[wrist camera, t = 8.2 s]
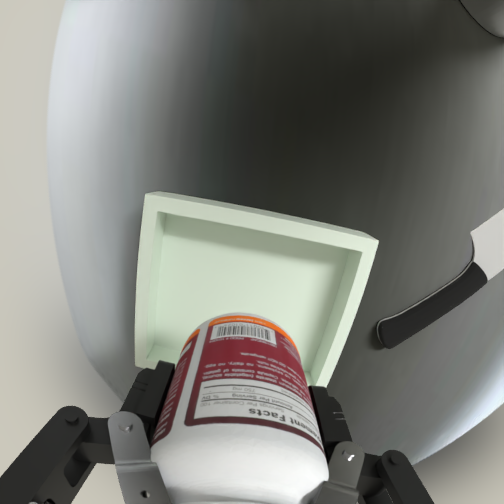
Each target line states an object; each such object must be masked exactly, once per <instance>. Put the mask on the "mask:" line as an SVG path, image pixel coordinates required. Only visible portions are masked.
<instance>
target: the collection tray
mask: <svg viewBox="0 0 504 504" xmlns="http://www.w3.org/2000/svg"><path fill="white" fill-rule="evenodd" d="M378 242H379V241H378V240H376V239H375V238H373V237H371V236H369V235H368V234H366V233H364V232H361V231H357V230H352V229H348V228H344V227H340V226H335V225H331V224H327V223H322V222H318V221H313V220H309V219H304V218H300V217H295V216H290V215H286V214H281V213H276V212H271V211H266V210H261V209H256V208H251V207H246V206H241V205H236V204H231V203H225V202H220V201H215V200H209V199H203V198H198V197H192V196H186V195H180V194H174V193H168V192H162V191H157V192H152V193H147V194H145V200H144V208H143V216H142V224H141V233H140V243H139V254H138V267H137V282H136V304H135V366H137V367H141V368H144V369H145V368H146V367H147V368H150V369H154V370H155V368H156V366H157V363H158V361H159V360H162V361H166V362H170V363H175V369H176V366H177V363H178V360H179V357H180V354H181V351H182V349H183V347H184V344H185V342H186V341H187V339H188V337H189V336H190V334H191V333H192V332H193V331H194V330H195V329H196V328H197V327H198V326H199V325H201V324H202V323H203V322H205V321H207V320H209V319H211V318H213V317H216V316H219V315H223V314H227V313H251V314H255V315H259V316H262V317H265V318H267V319H270V320H272V321H273V322H275V323H277V324H278V325H280V326H281V327H282V328H283V329H284V330H285V331H286V332H287V333H288V334H289V335H290V336H291V338H292V339H293V341H294V343H295V345H296V347H297V350H298V352H299V355H300V359H301V363H302V366H303V370H304V374H305V378H306V382H307V386H309V385H312V386H324V387H325V388H326V387H327V384H328V382H329V380H330V378H331V375H332V373H333V371H334V368H335V366H336V364H337V361H338V359H339V357H340V354H341V352H342V349H343V347H344V344H345V342H346V339H347V336H348V334H349V331H350V329H351V326H352V323H353V321H354V318H355V315H356V312H357V309H358V307H359V304H360V301H361V298H362V295H363V292H364V289H365V286H366V283H367V280H368V276H369V273H370V270H371V267H372V263H373V260H374V257H375V253H376V250H377V246H378Z"/></svg>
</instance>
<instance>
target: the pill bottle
mask: <svg viewBox="0 0 504 504" xmlns="http://www.w3.org/2000/svg"><path fill="white" fill-rule="evenodd" d="M150 450H151V461H152V462H156V463H157V465H158V468H159V470H160V473H161V476H162V479H163V481H164V484H165V487H166V489H167V492H168V494H169V497H170V499H171V502H172V504H309V503H310V501H311V500H312V499H313V497H314V496H315V495H316V493H317V492H318V490H319V489H320V487H321V485H322V483H323V481H324V480H325V481H328V478H329V471H328V466H327V462H326V457H325V453H324V449H323V445H322V441H321V437H320V433H319V429H318V425H317V421H316V417H315V413H314V409H313V405H312V401H311V397H310V393H309V389H308V386H307V382H306V378H305V374H304V370H303V366H302V363H301V359H300V355H299V352H298V350H297V347H296V345H295V343H294V341H293V339H292V338H291V336H290V335H289V334H288V333H287V332H286V331H285V330H284V329H283V328H282V327H281V326H280V325H278V324H277V323H275V322H273V321H272V320H270V319H267V318H265V317H262V316H259V315H255V314H251V313H227V314H223V315H219V316H216V317H213V318H211V319H209V320H207V321H205V322H203V323H202V324H201V325H199V326H198V327H197V328H196V329H195V330H194V331H193V332H192V333H191V334H190V336H189V337H188V339H187V341H186V342H185V344H184V347H183V349H182V351H181V354H180V357H179V360H178V363H177V366H176V369H175V372H174V375H173V378H172V381H171V384H170V387H169V390H168V393H167V396H166V399H165V402H164V405H163V408H162V411H161V414H160V417H159V420H158V423H157V427H156V430H155V433H154V436H153V439H152V442H151V445H150Z"/></svg>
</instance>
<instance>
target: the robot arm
mask: <svg viewBox="0 0 504 504" xmlns="http://www.w3.org/2000/svg"><path fill="white" fill-rule="evenodd" d="M460 1H461V2H462V4H463V5H464V7H465V8H466V9H467V11H468V12H469V13H470V14H471V15H472V17H473V18H474V19H475V20H476V21H477V22H478V23H479V24H480V25H481V26H482V27H483V28H485V29H486V30H487V31H489V32H490V33H492V34H493V35H495V36H498V37H504V0H460ZM174 372H175V363H170V362H166V361H162V360H159V361H158V363H157V366H156V368H155V370H154V369H150V368H147V367H146V368H145V369H144V370H142V371H141V372H140V373H139V374H138V376H137V377H136V379H135V382H134V383H133V385H132V388H131V389H130V391H129V393H128V395H127V397H126V400H125V402H124V404H123V406H122V408H121V410H120V411H119V412H116V413H114V414H112V416H110V417H109V418H94V417H88V416H87V414H86V413H85V411H83V410H82V409H81V408H79V407H76V406H66V407H63V408H61V409H60V410H58V411H57V413H56V414H55V415H54V416H53V417H52V418H51V419H50V420H49V421H48V423H47V424H46V425H45V426H44V427H43V428H42V429H41V430H40V432H39V433H38V434H37V435H36V436H35V438H33V440H32V441H31V442H30V443H29V444H28V445H27V446H26V448H25V449H24V450H23V451H22V452H21V453H20V455H19V456H18V457H17V458H16V459H15V461H14V462H13V463H12V464H11V465H10V466H9V468H8V469H7V470H6V471H5V472H4V474H3V475H2V476H1V477H0V504H71V503H72V501H73V499H74V498H75V496H76V495H77V493H78V492H79V490H80V488H81V487H82V485H83V483H84V482H85V480H86V479H87V477H88V476H89V474H90V472H91V471H92V469H93V468H94V466H95V465H96V463H104V464H115V465H116V470H117V475H118V479H119V483H120V487H121V490H122V494H123V497H124V501H125V504H172V502H171V499H170V497H169V494H168V492H167V489H166V487H165V484H164V481H163V479H162V476H161V473H160V470H159V468H158V465H157V463H156V462H152V461H151V450H150V445H151V442H152V439H153V436H154V433H155V430H156V427H157V423H158V420H159V417H160V414H161V411H162V408H163V405H164V402H165V399H166V396H167V393H168V390H169V387H170V384H171V381H172V378H173V375H174ZM308 389H309V393H310V397H311V401H312V405H313V409H314V413H315V417H316V421H317V425H318V429H319V433H320V437H321V441H322V445H323V449H324V453H325V457H326V462H327V466H328V471H329V478H328V481H325V480H324V481H323V483H322V485H321V487H320V489H319V490H318V492H317V493H316V495H315V496H314V497H313V499H312V500H311V501H310V503H309V504H356V502H357V501H358V503H359V504H434V502H433V501H432V499H431V497H430V496H429V494H428V492H427V490H426V489H425V487H424V486H423V484H422V482H421V480H420V479H419V477H418V475H417V474H416V472H415V470H414V469H413V467H412V465H411V464H410V462H409V461H408V459H407V457H406V456H405V455H404V454H403V453H401V452H399V451H397V450H389V451H386V452H385V453H384V454H383V455H382V456H377V455H371V454H367V453H364V451H363V449H362V448H361V447H360V446H359V445H358V444H356V443H354V442H353V441H352V438H351V435H350V432H349V429H348V426H347V424H346V421H345V418H344V415H343V414H342V409H341V406H340V404H339V403H338V402H337V400H336V399H335V398H334V397H328V393H327V390H326V388H325V387H324V386H312V385H309V386H308ZM386 489H387V490H386ZM387 491H388V492H387ZM388 493H389V495H390V496H389V495H388ZM390 497H391V498H390ZM391 499H392V500H391ZM392 501H393V502H392Z"/></svg>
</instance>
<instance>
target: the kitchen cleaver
mask: <svg viewBox="0 0 504 504" xmlns="http://www.w3.org/2000/svg"><path fill="white" fill-rule="evenodd" d="M470 233H471V236H472V241H473V247H474V254H473V259H472V261H471V262H470V263H469V264H468V266H467V267H466V268H465V270H464V271H463V272H462V273H461V274H459V275H458V276H457V277H456V278H454V279H453V280H452V281H450V282H449V283H447V284H446V285H444V286H443V287H441V288H440V289H438V290H437V291H435V292H434V293H432V294H430V295H429V296H427V297H426V298H424V299H422V300H421V301H419V302H417V303H416V304H414V305H412V306H411V307H409V308H407V309H405V310H403V311H402V312H400V313H398V314H396V315H393V316H391V317H388V318H385V319H382V320H380V321H379V322H378V324H377V327H376V331H377V335H378V338H379V340H380V342H381V344H382V345H383V346H384V347H386V348H387V349H391V348H393V347H395V346H397V345H398V344H400V343H401V342H403V341H404V340H406V339H408V338H409V337H411V336H412V335H414V334H416V333H417V332H419V331H421V330H422V329H424V328H425V327H427V326H428V325H430V324H431V323H433V322H434V321H436V320H437V319H439V318H440V317H442V316H443V315H445V314H446V313H448V312H449V311H451V310H452V309H453V308H455V307H456V306H458V305H459V304H461V303H462V302H463V301H465V300H466V299H467V298H469V297H470V296H471V295H473V294H474V293H475V292H477V291H478V290H479V289H480V288H482V287H483V286H484V285H485V284H486V283H487V281H488V280H490V279H491V278H492V277H494V276H495V275H496V274H497V273H499V272H500V271H501V270H502V269H504V209H503V210H501V211H500V212H498V213H497V214H496V215H494V216H493V217H492V218H490V219H489V220H487V221H486V222H485V223H483V224H482V225H480V226H479V227H478V228H476V229H475V230H473V231H472V232H470Z"/></svg>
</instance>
